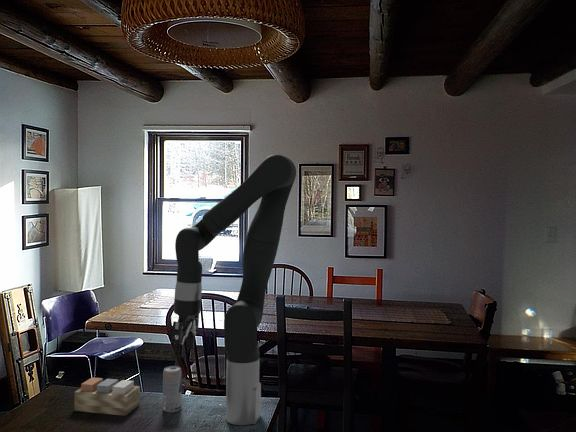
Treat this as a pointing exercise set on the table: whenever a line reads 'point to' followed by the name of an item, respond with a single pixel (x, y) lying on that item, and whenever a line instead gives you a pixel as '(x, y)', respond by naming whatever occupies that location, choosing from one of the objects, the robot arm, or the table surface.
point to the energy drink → (172, 389)
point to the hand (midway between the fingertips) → (184, 352)
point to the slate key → (106, 386)
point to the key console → (107, 402)
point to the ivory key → (123, 387)
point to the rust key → (91, 384)
